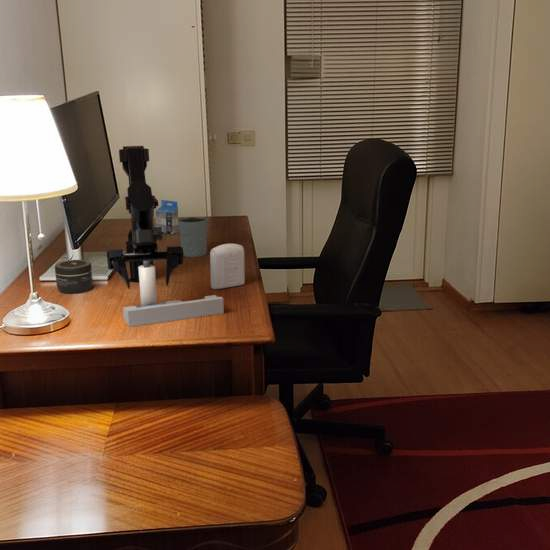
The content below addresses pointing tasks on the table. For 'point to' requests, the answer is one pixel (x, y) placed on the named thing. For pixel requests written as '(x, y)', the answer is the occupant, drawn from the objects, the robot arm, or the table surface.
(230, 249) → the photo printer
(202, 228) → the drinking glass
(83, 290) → the jar
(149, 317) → the cable duct
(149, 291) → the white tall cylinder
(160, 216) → the label tape box
